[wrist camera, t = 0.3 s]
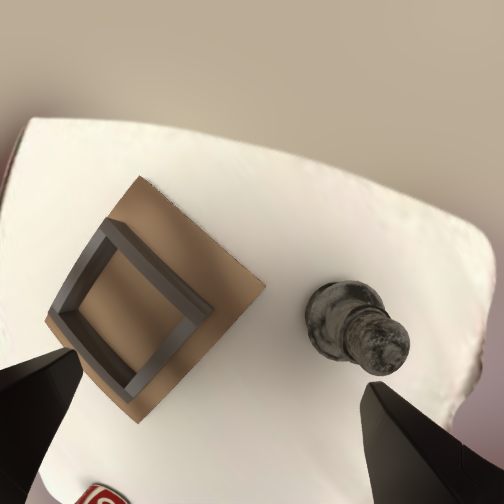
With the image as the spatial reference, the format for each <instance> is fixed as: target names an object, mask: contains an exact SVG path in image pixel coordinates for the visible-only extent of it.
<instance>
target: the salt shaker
mask: <svg viewBox="0 0 504 504" xmlns="http://www.w3.org/2000/svg"><path fill="white" fill-rule="evenodd" d="M305 319H306V325H307V328H308V335H309V338H310V340H311V342H312V344H313V346H314V347H315V348H316V350H317V351H318V352H319V353H320V354H322V355H323V356H325V357H326V358H328V359H331V360H335V361H349V362H351V363H354V364H357V365H360V366H361V367H362V368H363V369H364V370H365V371H366V372H368V373H369V374H372V375H375V376H386V375H389V374H392V373H393V372H395V371H397V370H398V369H399V368H400V367H401V366H402V365H403V363H404V362H405V360H406V358H407V356H408V353H409V349H410V339H409V335H408V333H407V331H406V330H405V328H404V327H403V326H402V325H401V324H400V323H398V322H396V321H394V320H392V319H391V318H390V316H389V315H388V313H387V312H386V311H385V307H384V305H383V302H382V299H381V298H380V296H379V295H378V294H377V292H376V291H375V290H374V289H372V288H371V287H370V286H368V285H366V284H364V283H361V282H358V281H343V282H334V283H329V284H326V285H324V286H322V287H320V288H319V289H318V290H317V291H316V292H315V293H314V294H313V295H312V297H311V298H310V299H309V302H308V304H307V307H306V313H305Z"/></svg>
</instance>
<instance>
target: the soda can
mask: <svg viewBox="0 0 504 504" xmlns="http://www.w3.org/2000/svg"><path fill="white" fill-rule="evenodd" d="M75 504H128V503H127V502H126V501H125V500H124V499H123V498H122V497H121V496H120V495H118V494H117V493H116V492H114V491H112V490H110V489H108V488H105V487H103V486H99V485H91V486H90V487H89V488H88V489H87V490H86V492H85V493H84V494H83V495H82V496H81V497H80V498H79V499H78V501H77V502H76V503H75Z"/></svg>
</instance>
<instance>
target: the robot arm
mask: <svg viewBox="0 0 504 504" xmlns="http://www.w3.org/2000/svg"><path fill="white" fill-rule="evenodd" d="M82 376H83V368H82V365H81V362H80V359H79V356H78V353H77V352H76V350H74V349H71V348H68V347H64V348H61V349H58V350H56V351H53V352H50V353H47V354H45V355H42V356H39V357H36V358H33V359H31V360H28V361H25V362H22V363H19V364H16V365H14V366H11V367H8V368H5V369H2V370H0V504H25V502H26V499H27V496H28V493H29V491H30V488H31V486H32V483H33V481H34V479H35V477H36V474H37V472H38V470H39V467H40V465H41V463H42V461H43V459H44V457H45V454H46V452H47V450H48V448H49V446H50V444H51V442H52V440H53V438H54V436H55V434H56V432H57V430H58V428H59V426H60V424H61V422H62V420H63V418H64V416H65V415H66V413H67V411H68V409H69V406H70V404H71V401H72V399H73V397H74V394H75V392H76V389H77V387H78V385H79V383H80V380H81V378H82ZM360 415H361V424H362V434H363V445H364V453H365V458H366V463H367V468H368V473H369V478H370V483H371V488H372V494H373V499H374V504H504V470H503V469H501V468H499V467H497V466H496V465H494V464H492V463H490V462H489V461H487V460H485V459H484V458H482V457H481V456H479V455H478V454H477V453H475V452H474V451H472V450H471V449H470V448H468V447H467V446H465V445H464V444H463V445H462V443H461V442H460V441H459V440H457V439H456V438H454V437H453V436H452V435H451V434H449V433H448V432H447V431H445V430H444V429H443V428H441V427H440V426H439V425H437V424H436V423H435V422H434V421H432V420H431V419H430V418H428V417H427V416H426V415H424V414H423V413H422V412H421V411H419V410H418V409H417V408H415V407H414V406H413V405H412V404H410V403H409V402H408V401H406V400H405V399H404V398H403V397H401V396H400V395H399V394H397V393H396V392H395V391H394V390H392V389H391V388H390V387H389V386H387V385H386V384H385V383H383V382H381V381H378V382H370V383H368V384H367V386H366V389H365V391H364V394H363V397H362V399H361V402H360Z"/></svg>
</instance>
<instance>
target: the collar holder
mask: <svg viewBox="0 0 504 504" xmlns="http://www.w3.org/2000/svg"><path fill="white" fill-rule="evenodd" d="M265 287H266V285H264V284H263V283H262V282H261V281H260V280H259V279H257V278H256V277H255V276H254V275H253V274H252V273H250V272H249V271H248V270H247V269H246V268H245V267H244V266H242V265H241V264H240V263H239V262H238V261H237V260H236V259H234V258H233V257H232V256H231V255H230V254H229V253H228V252H226V251H225V250H224V249H223V248H222V247H221V246H220V245H218V244H217V243H216V242H215V241H214V240H213V239H212V238H210V237H209V236H208V235H207V234H206V233H205V232H204V231H203V230H201V229H200V228H199V227H198V226H197V225H196V224H195V223H194V222H192V221H191V220H190V219H189V218H188V217H187V216H186V215H185V214H183V213H182V212H181V211H180V210H179V209H178V208H177V207H176V206H174V205H173V204H172V203H171V202H170V201H169V200H168V199H167V198H166V197H164V196H163V195H162V194H161V193H160V192H159V191H158V190H157V189H156V188H154V187H153V186H152V185H151V184H150V183H149V182H148V181H147V180H145V179H144V178H143V177H141V176H140V175H139V177H138V178H137V179H136V180H135V182H134V183H133V184H132V185H131V187H130V188H129V189H128V190H127V192H126V193H125V194H124V195H123V197H122V198H121V199H120V201H119V202H118V203H117V205H116V206H115V207H114V209H113V210H112V211H111V213H110V214H109V215H108V217H106V218H105V219H104V221H103V222H102V224H101V225H100V226H99V228H98V229H97V231H96V232H95V234H94V235H93V237H92V238H91V240H90V241H89V243H88V244H87V246H86V247H85V249H84V250H83V252H82V253H81V255H80V257H79V258H78V260H77V261H76V263H75V265H74V266H73V268H72V270H71V271H70V273H69V275H68V276H67V278H66V280H65V282H64V283H63V285H62V287H61V289H60V291H59V292H58V294H57V296H56V298H55V300H54V302H53V303H52V305H51V307H50V309H49V311H48V315H47V317H46V319H45V323H46V324H47V326H48V327H49V328H50V330H51V331H52V332H53V334H54V335H55V336H56V338H57V339H58V340H59V342H60V343H61V344H62V346H63V347H68V348H71V349H74V350H76V352H77V353H78V356H79V359H80V362H81V365H82V368H83V371H84V372H85V373H86V374H87V375H88V376H89V377H90V378H91V380H92V381H93V382H94V383H95V384H96V385H97V386H98V387H99V388H100V389H101V390H102V391H103V392H104V393H105V394H106V395H107V396H108V397H109V398H110V399H111V400H112V401H113V402H114V403H115V404H116V405H117V406H118V407H119V408H120V409H121V410H122V411H124V412H125V413H126V414H127V415H128V416H129V417H130V418H131V419H132V420H134V421H135V422H136V423H137V424H139V423H140V422H141V421H142V420H143V419H144V418H145V417H146V416H147V415H148V413H149V412H150V411H151V410H152V409H153V408H154V407H155V406H156V405H157V404H158V403H159V402H160V401H161V400H162V399H163V398H164V397H165V396H166V395H167V394H168V393H169V392H170V391H171V390H172V389H173V388H174V387H175V386H176V385H177V384H178V383H179V381H180V380H181V379H182V378H183V377H184V376H185V375H186V374H187V373H188V372H189V371H190V370H191V369H192V368H193V367H194V366H195V365H196V363H197V362H198V361H199V360H200V359H201V358H202V357H203V356H204V355H205V354H206V353H207V352H208V351H209V349H210V348H211V347H212V346H213V345H214V344H215V343H216V342H217V341H218V340H219V339H220V337H221V336H222V335H223V334H224V333H225V332H226V331H227V330H228V329H229V328H230V326H231V325H232V324H233V323H234V322H235V321H236V320H237V319H238V318H239V316H240V315H241V314H242V313H243V312H244V311H245V310H246V309H247V307H248V306H249V305H250V304H251V303H252V302H253V301H254V300H255V298H256V297H257V296H258V295H259V294H260V293H261V292H262V290H263V289H264V288H265Z"/></svg>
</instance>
